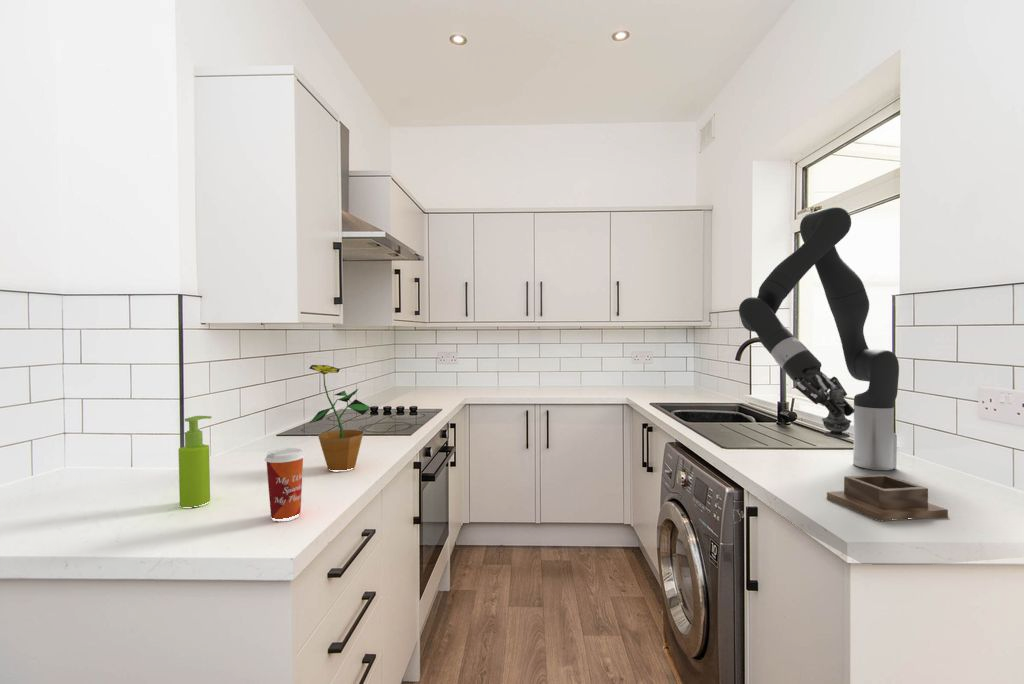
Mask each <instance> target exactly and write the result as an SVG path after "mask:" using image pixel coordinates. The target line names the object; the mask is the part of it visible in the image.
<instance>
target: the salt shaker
mask: <svg viewBox="0 0 1024 684" xmlns="http://www.w3.org/2000/svg"><path fill="white" fill-rule="evenodd" d="M828 392H829V395H830V397H831V398H832V399H831V400H834V401H835V402H836V404H837V405H838V406H839V407H840V408H841V409H842V410H843V411H844V406H845V405H846V404H844V399H845V398H844V391H843V390H841V389H839V388H838V385H837V384H836V385H835V388H834V389H831V390H830V389H829V390H828ZM821 421H822V423H823V426H824V428H826V430H827V431H825V432H823V434H822V435H823V436H825V437H828V438H829V437H830V438H836V439H837V438H838V439H849V438H851V435H850V434H848V432H846V431H848V430H849V429H850V426H851V423H852V420H850V419H848V418H847V417H846V415H845V414H843V415H841V416H840V417H838V418H835V417H834V416H833V415H832V414H831V413H830V411H829V410H828V414H827V416H826V417H824V418H822V419H821Z"/></svg>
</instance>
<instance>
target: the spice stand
mask: <svg viewBox="0 0 1024 684" xmlns="http://www.w3.org/2000/svg"><path fill="white" fill-rule="evenodd" d="M843 480H844V481H843V490H840V491H839V490H837V491H827V492H826V499H827V498H828V500H829V499H830V501H832V502H834V501H835V502H834V503H836V502H837V503H836V504H839V503H840V504H839V505H841V504H842V506H843V505H844V507H845V506H847V507H846V508H848V507H849V508H848V509H850V508H851V509H850V510H852V509H853V510H852V511H855V512H857V511H858V512H857V513H859V512H860V513H859V514H861V513H862V514H861V515H864V516H866V515H867V517H868V516H869V518H871V517H872V518H871V519H873V518H874V519H873V520H875V519H877V520H880V521H879V522H882V521H881V520H892V519H908V518H923V519H929V518H928V517H938V518H948V517H949V510H948V508H944V507H943V506H942V507H941V506H938V505H936V504H933V503H930V502H929V488H928V487H924V486H921V485H919V484H916V483H912V482H909V481H906V480H903V479H900V478H897V477H893V476H891V475H887V474H885V473H884V474H867V475H851V476H849V475H847V476H845V475H844V477H843ZM877 520H876V521H877ZM908 520H909V519H908Z"/></svg>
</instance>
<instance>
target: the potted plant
mask: <svg viewBox="0 0 1024 684" xmlns="http://www.w3.org/2000/svg"><path fill="white" fill-rule="evenodd" d="M308 368H309V370H312V371H316V372H319V373H321V374H322V375H323V386H324V391H325V394H326V397H327V400H328V403H329V404H330V405H331V407H329V408H326V409H323V410H320V411H318V412H317V413H316V415H314V417H313V418H312V419H311V420H310V422H309V424H312V423H315V422H319V421H322V420H323V419H324V418H325V416H327V414H328V413H329V412H330V411H331V410H332V411H333V412H334V414H335V417H336V420H337V423H338V427H339V430H338V429H337V430H330V431H324V432H322V433H319V434H318V435H317V436H318V440H319V443H320V447H321V450H322V453H323V456H324V461H325V464H326V467H327V470H328V469H330V470H347V469H351V468H354V467H355V468H356V464H357V459H358V455H359V451H360V447H361V445H362V440H363V436H364V431H361V430H357V429H343V425H342V422H341V420H340V419H341V418H342V417H343V415H344V413H345V412H346V410H347V409H348V408H349V409H351V410H353V411H355V412H356V413H359V414H360V415H364V414H365V413H366V412H368V411H369V410H370V409H371V406H369V405H367V404H365V403H363V402H362V401H360V400H358V399H354V400H353V401H351V398H352V397H353V396H354V395H356V393H357V392H358V390H359V388H357V389H355V390H354V391H352V392H351V393H349V394H347V392H346V391H345V390H343V391H341V392H338V393H335V394H334V396H339V397H341V396H343V397H341V398H337V399H336V400H335V402H334V403H333V402H332V399H331V398H330V396H329V393H328V390H327V389H328V388H327V385H326V379H325V378H326V377H325V375H327V374H329V373H332V374H334V373H337V374H338V373H339V372H340V370H341V369H340V368H338V367H334V366H330V365H329V364H328V365H327V364H326V365H325V364H324V365H323V364H311V365H310V367H308ZM338 401H340V402H344V403H346V407H345V408H344V410H343V411H342V412H341V414H340V415H338V413H337V410H336V406H335V405H336V404H337V402H338ZM349 402H350V403H349ZM355 468H354V469H355Z"/></svg>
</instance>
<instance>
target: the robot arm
mask: <svg viewBox="0 0 1024 684" xmlns="http://www.w3.org/2000/svg"><path fill="white" fill-rule="evenodd" d="M800 221H801V222H800V223H799V233H800V236H801V239H802V241H803V244H801V246H799V247H798V248H797V249H796V250H795V251H793V252H792V253H791V254H790V255H788V256H787V257H786V258H785V259H783V260H782V261H781V262H780V263H779V264H778V265H777V266H775V267H774V268H773V270H772V271H771V272H770V273H769V275H768V276H767V277H766V278H765V280H764V281H763V282H762V284H760V287H759V288H758V295H757V296H756V297H755V296H752V297H747V298H745V299H743V300H742V302H741V303H740V304H739V308H738V313H739V314H738V315H739V318H740V321H741V324H742V326H743V328H744V329H746V330H747V331H748V332H754V333H756V335H757V337H758V339H759V341H760V343H761V345H762V346H763V347H764V348H765V349H766V350H767V352H769V354H770V355H771V356H772V358H773V359H774V361H775V362H776V363H777V365H778V366H780V368H781V369H782V370H783V371H784V372H785V374H786V375H787V376H788V377H789V378H790V379H791V381H792V382H794V383H796V384H797V385H795V388H796V389H797V390H798V391H799V392H800V393H801V394H803V396H804V397H807V398H808V400H810V401H811V402H812V403H814V404H815V405H818V404H819V405H821V406H823V407H825V408H826V410H827V411H828V412H829V411H830V413H831V414H832V415H833V416H834V417H835V418H838V417H840V416H841V415H843V414H845V417H849V416H851V415H853V446H852V447H853V451H852V452H853V454H852V455H853V457H852V458H853V459H852V461H853V462H852V464H853V465H854V466H856V467H860V468H863V469H865V470H866V469H867V470H873V471H892V470H893V469H897V463H898V462H897V458H898V457H897V452H898V450H897V448H898V436H897V434H896V433H895V432H894V431H895V429H894V428H895V427H894V426H895V401H896V399H897V396H898V390H899V389H898V387H899V379H900V378H899V377H900V376H899V375H900V365H899V360H898V357H897V355H896V354H895V353H894V352H892V351H891V350H886V349H871V348H869V346H868V344H867V342H866V338H865V334H864V327H865V325H866V320H867V317H868V314H869V311H870V300H869V296H868V293H867V291H866V288H865V285H864V283H863V281H862V279H861V278H860V276H859V275H858V274H857V273H856V271H854V270H853V269H852V268H851V267H850V266H849V265H848V264H847V263H846V262H845V261H844V260H843V259H842V258H841V256H840V255H839V253H838V251H837V248H836V245H837V244H838V243H840V241H841V240H843V239H844V238H845V237H846V236H847V234H848V233H849V232H850V230H851V226H852V217H851V215H850V213H849V212H848V211H847V210H846V209H845V208H843V207H839V206H838V207H837V206H836V207H835V206H834V207H833V206H832V207H828V208H825V209H819V210H817V211H812V212H810V213H808V214H806V215H804V217H802V219H801V220H800ZM814 266H815V270H816V272H817V275H818V278H819V279H820V283H821V285H822V287H823V291H824V295H825V297H826V301H827V303H828V306H829V309H830V312H831V314H832V317H833V320H834V322H835V325H836V329H837V332H838V335H839V338H840V342H841V348H842V352H843V357H844V360H845V361H844V362H845V365H846V369H847V371H848V373H849V374H850V376H851V377H852V378H853V379H855V380H857V381H862V382H868V389H866V391H864V392H861V393H860V392H859V393H857V394H856V395H854V396H853V406H852V405H851V404H850V403H849V402H848V401H847V400H846V399H845V397H846V396H847V395H848V393H847V392H846V390H845V388H844V387H843V385H842V384H841V382H840V381H839V379H838V377H836V376H832V377H831V378H830V377H828V375H826V374H825V373H823V371H821V368H822V362H821V361H820V360H819V359H818V358H817V357H816V356H815V355H814V354H813V353H812V352H811V351H810V350H809V349H808V347H806V345H804V343H802V342H801V341H800V340H798V339H797V338H796V336H795V335H794V334H793V333H792V332H790V330H789V329H788V328H787V327H786V326H784V324H783V323H782V322H781V320H780V319H779V317H778V316H777V312H778V310H779V308H780V307H781V305H782V303H783V301H784V300H785V299H786V297H788V295H789V294H790V293H791V291H793V289H794V288H795V287H796V285H797V284H798V283H799V282H800V281H801V279H803V277H804V276H805V275H806V274H807V273H808V272H809V271H810V270H811V269H812V268H813V267H814ZM836 384H837V385H838V388H839V389H841V390H843V391H844V404H846V405H845V406H844V411H843V410H842V409H841V408H840V407H839V406H838V405H837V404H836V402H835V401H834V400H831V399H832V398H831V397H830V395H829V391H830V390H831V389H834V388H835V385H836Z"/></svg>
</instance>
